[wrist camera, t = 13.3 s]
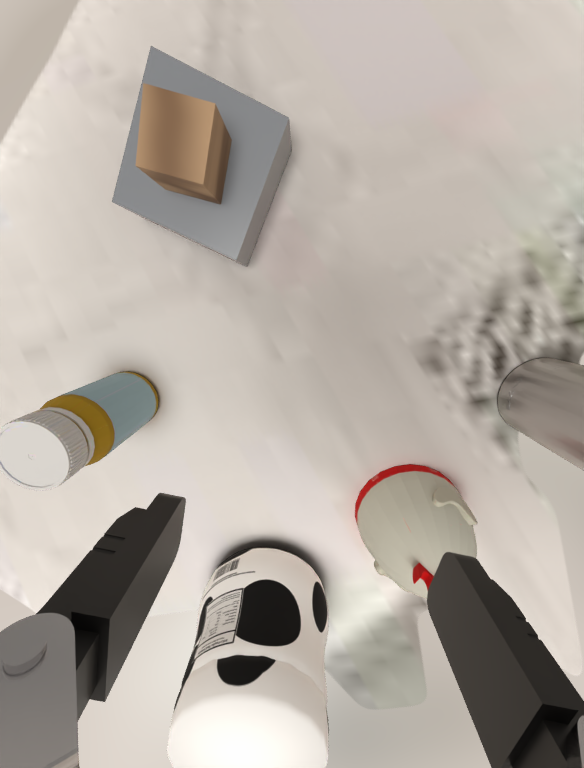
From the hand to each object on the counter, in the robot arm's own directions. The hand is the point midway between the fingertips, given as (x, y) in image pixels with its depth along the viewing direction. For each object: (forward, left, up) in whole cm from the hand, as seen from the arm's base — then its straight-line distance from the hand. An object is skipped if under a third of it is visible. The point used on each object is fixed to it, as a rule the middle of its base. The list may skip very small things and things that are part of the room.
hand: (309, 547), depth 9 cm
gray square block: (+13, -16, -28) cm, 35 cm away
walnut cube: (+13, -16, -22) cm, 30 cm away
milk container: (-2, +34, -28) cm, 44 cm away
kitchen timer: (-18, +17, -28) cm, 38 cm away
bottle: (+20, +9, -28) cm, 36 cm away
